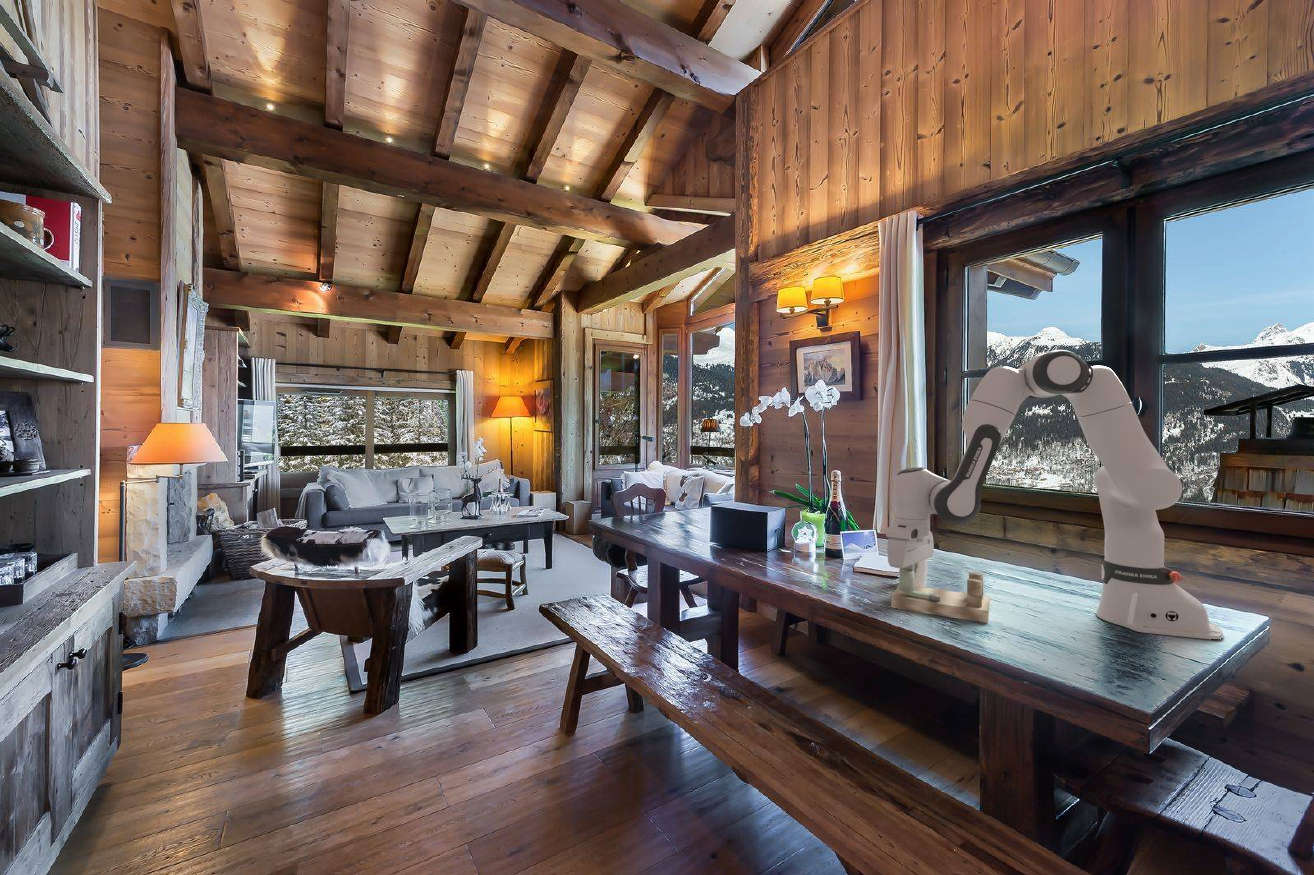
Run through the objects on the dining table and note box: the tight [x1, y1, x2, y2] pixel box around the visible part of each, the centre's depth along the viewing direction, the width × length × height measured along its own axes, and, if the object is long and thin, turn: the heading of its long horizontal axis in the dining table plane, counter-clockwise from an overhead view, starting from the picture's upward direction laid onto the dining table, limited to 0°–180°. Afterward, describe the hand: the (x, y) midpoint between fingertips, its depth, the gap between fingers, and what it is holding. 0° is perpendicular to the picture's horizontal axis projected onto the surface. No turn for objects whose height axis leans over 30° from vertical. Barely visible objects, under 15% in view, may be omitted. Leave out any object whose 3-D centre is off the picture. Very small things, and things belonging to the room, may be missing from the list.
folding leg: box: [898, 569, 940, 601], centre depth 146 cm, size 10×4×6 cm, turn 45°
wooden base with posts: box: [890, 568, 991, 624], centre depth 146 cm, size 22×14×9 cm, turn 58°
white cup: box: [914, 558, 929, 588], centre depth 167 cm, size 8×8×10 cm
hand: (912, 578), depth 150 cm, fingers closed
